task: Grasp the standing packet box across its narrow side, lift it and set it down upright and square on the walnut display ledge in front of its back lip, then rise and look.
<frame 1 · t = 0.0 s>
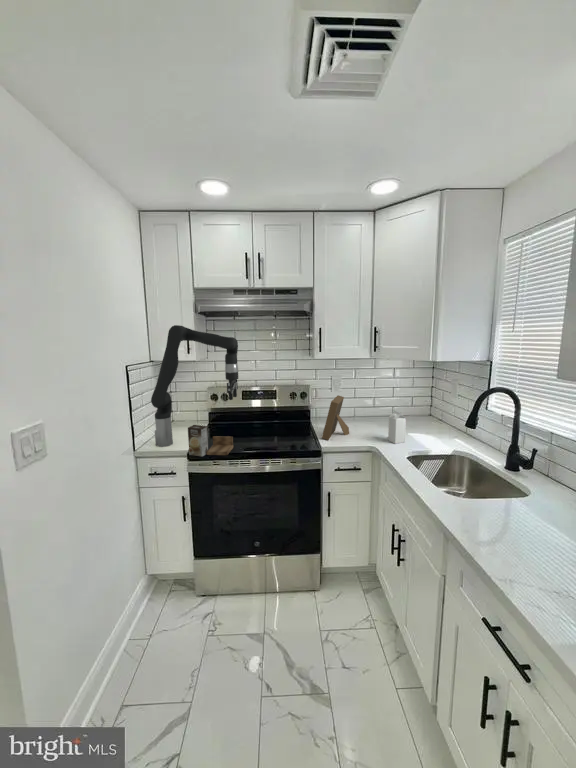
hand: (233, 398, 193), 29 cm above the worktop, fingers open, 8 cm apart
photo frame: (336, 435, 213), on the worktop
ledge: (220, 451, 188), on the worktop
milk carton: (396, 441, 199), on the worktop
coffee box: (198, 454, 185), on the worktop
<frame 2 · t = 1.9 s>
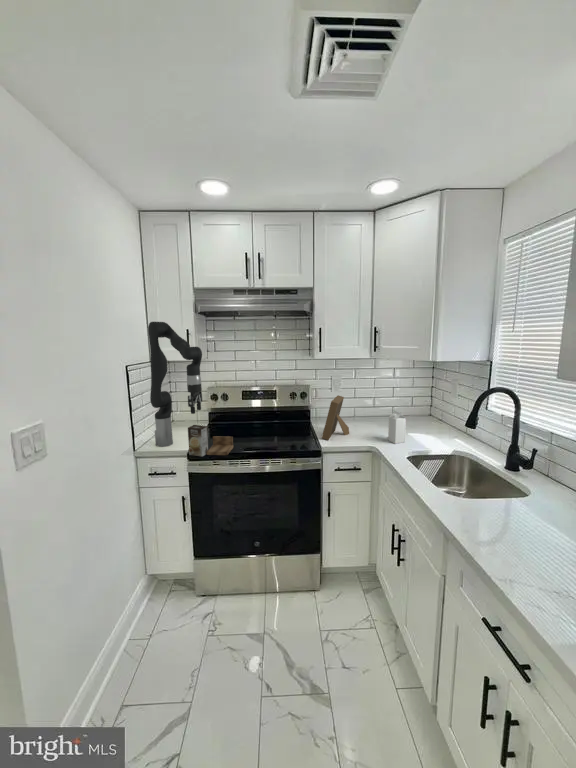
hand: (196, 411, 181), 25 cm above the worktop, fingers open, 8 cm apart
nothing on the worktop moved.
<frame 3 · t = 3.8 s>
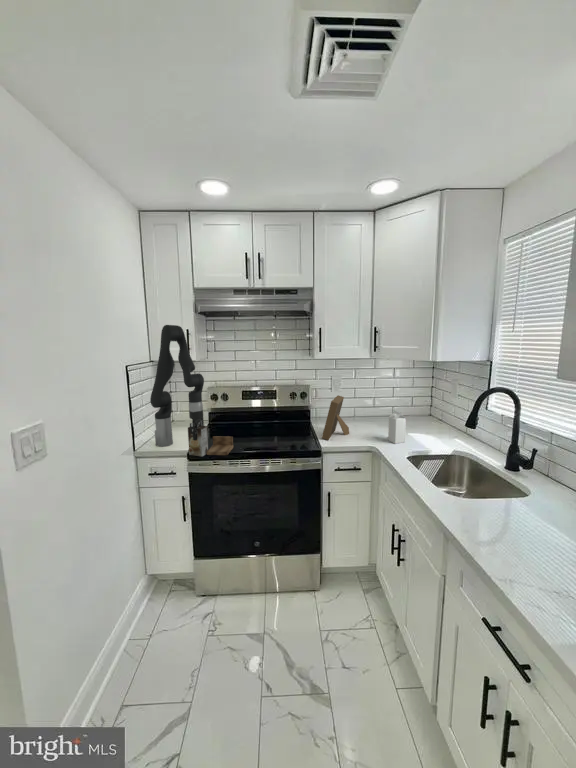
hand: (197, 437, 183), 9 cm above the worktop, fingers closed on coffee box, 7 cm apart
coffee box: (198, 454, 185), on the worktop, touching gripper
everything else where it was.
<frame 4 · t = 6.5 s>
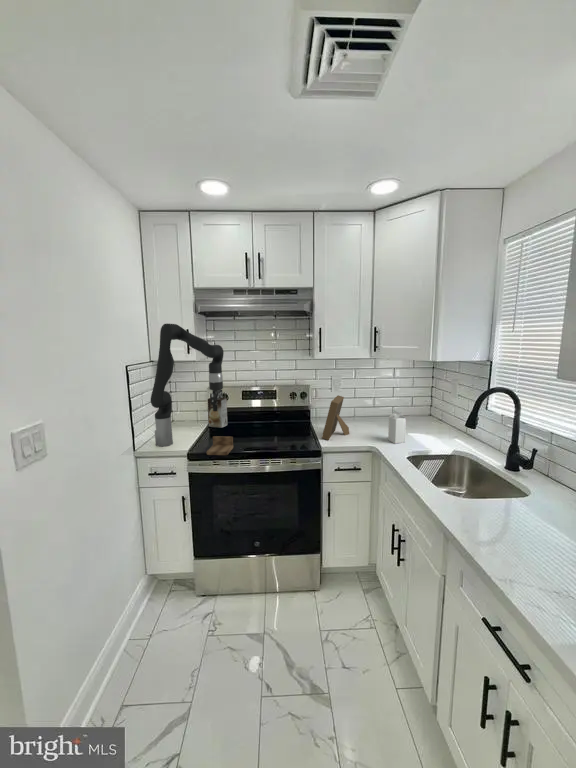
hand: (217, 409, 184), 25 cm above the worktop, fingers closed on coffee box, 7 cm apart
coffee box: (218, 426, 185), point 15 cm above the worktop, touching gripper
everything else where it was.
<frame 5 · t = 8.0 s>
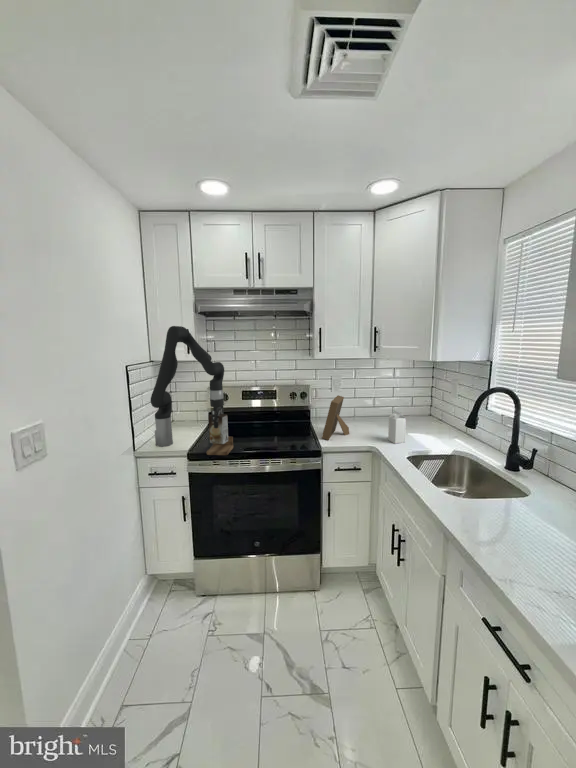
hand: (218, 426, 185), 15 cm above the worktop, fingers closed on coffee box, 7 cm apart
coffee box: (219, 442, 187), point 6 cm above the worktop, touching gripper
everything else where it was.
when the fingers open (12 cm above the worktop, at t = 9.3 s): coffee box stays where it is, resting on ledge.
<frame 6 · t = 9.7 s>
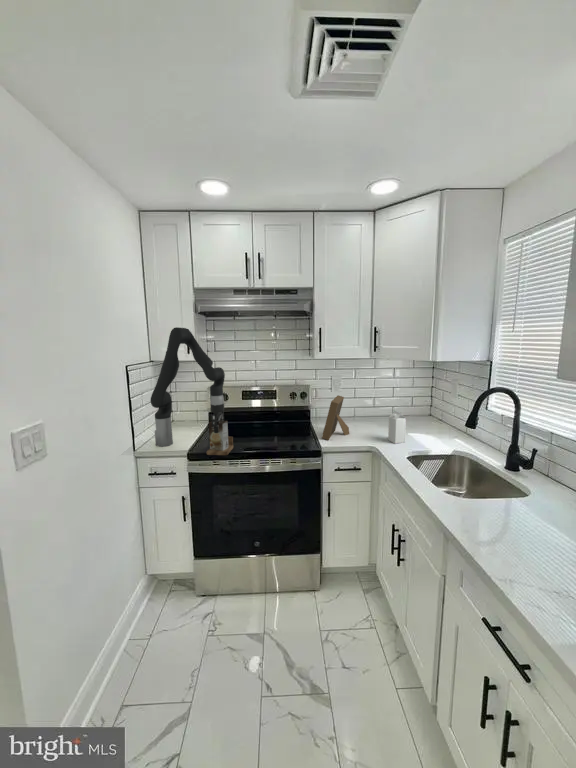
hand: (218, 430, 186), 13 cm above the worktop, fingers open, 8 cm apart
coffee box: (219, 448, 187), point 2 cm above the worktop, touching ledge
everything else where it was.
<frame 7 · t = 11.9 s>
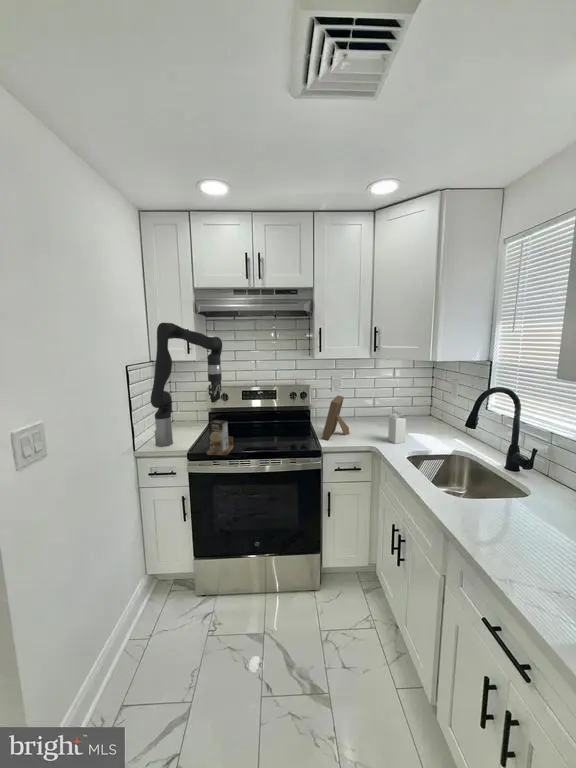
hand: (215, 400, 185), 30 cm above the worktop, fingers open, 8 cm apart
nothing on the worktop moved.
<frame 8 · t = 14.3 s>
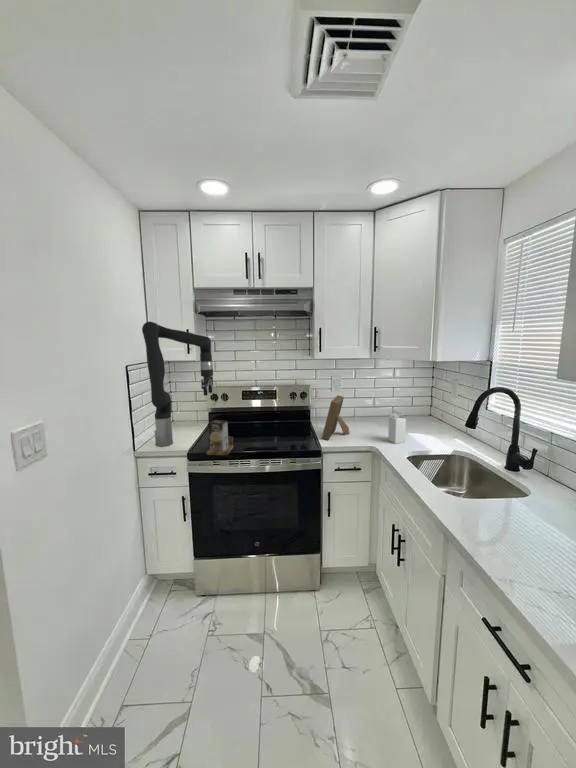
hand: (208, 394, 205), 30 cm above the worktop, fingers open, 8 cm apart
nothing on the worktop moved.
at the end: coffee box inside the target area on the ledge (0.3 cm from its centre), point 1.8 cm above the ledge's base; coffee box tilted 0°; the gripper is holding nothing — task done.
